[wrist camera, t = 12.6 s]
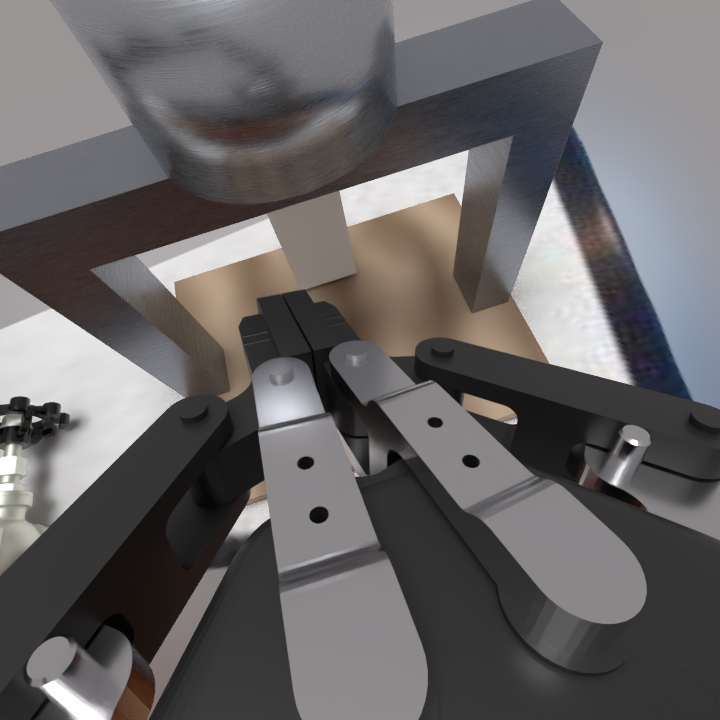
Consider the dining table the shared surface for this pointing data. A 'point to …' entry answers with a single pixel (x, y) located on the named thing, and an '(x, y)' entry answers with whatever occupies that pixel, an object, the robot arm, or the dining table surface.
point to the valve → (21, 472)
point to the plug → (315, 240)
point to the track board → (369, 297)
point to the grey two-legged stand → (281, 147)
